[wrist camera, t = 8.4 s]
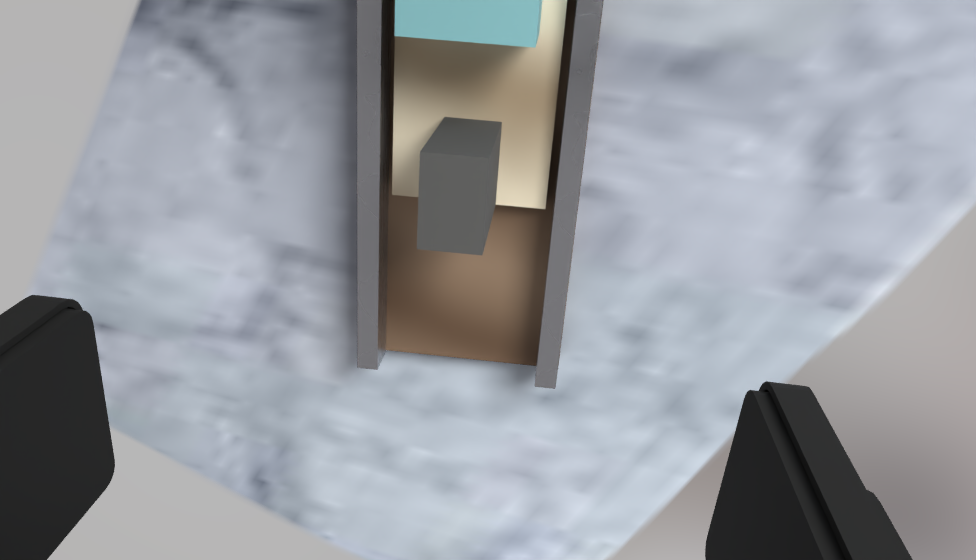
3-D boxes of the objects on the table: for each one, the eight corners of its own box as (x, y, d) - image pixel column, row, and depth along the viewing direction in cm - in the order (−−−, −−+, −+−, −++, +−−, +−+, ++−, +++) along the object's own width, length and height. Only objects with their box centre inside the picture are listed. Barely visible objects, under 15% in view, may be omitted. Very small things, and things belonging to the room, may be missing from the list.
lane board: (371, -148, 24) (353, -158, 22) (617, -131, 24) (623, -139, 22) (369, 338, 32) (354, 367, 30) (558, 358, 31) (558, 389, 29)
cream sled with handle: (402, -112, 24) (357, -130, 19) (577, -100, 24) (582, -114, 18) (396, 188, 28) (358, 243, 23) (545, 202, 28) (542, 261, 23)
